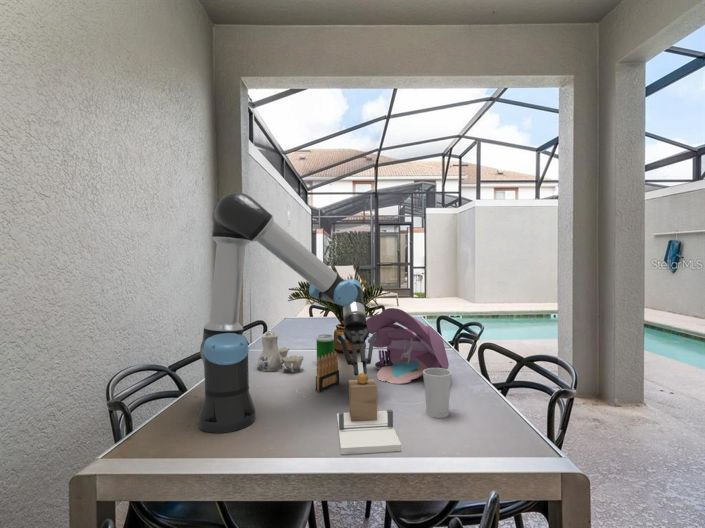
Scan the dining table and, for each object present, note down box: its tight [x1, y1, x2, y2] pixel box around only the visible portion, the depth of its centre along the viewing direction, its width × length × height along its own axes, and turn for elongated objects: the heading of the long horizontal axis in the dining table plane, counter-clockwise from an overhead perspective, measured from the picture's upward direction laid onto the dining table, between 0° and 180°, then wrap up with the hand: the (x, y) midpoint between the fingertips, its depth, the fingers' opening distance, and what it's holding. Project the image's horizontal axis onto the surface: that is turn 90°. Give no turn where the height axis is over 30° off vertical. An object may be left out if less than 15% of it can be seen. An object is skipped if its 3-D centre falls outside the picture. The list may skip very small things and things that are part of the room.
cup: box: [422, 368, 452, 419], centre depth 112 cm, size 8×8×12 cm
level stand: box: [336, 409, 402, 455], centre depth 100 cm, size 20×14×6 cm
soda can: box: [316, 333, 335, 361], centre depth 165 cm, size 8×8×12 cm
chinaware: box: [257, 328, 304, 373], centre depth 161 cm, size 28×17×17 cm, turn 34°
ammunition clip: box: [315, 350, 340, 393], centre depth 135 cm, size 11×2×12 cm, turn 143°
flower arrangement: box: [366, 307, 450, 385], centre depth 147 cm, size 35×24×28 cm
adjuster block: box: [348, 373, 378, 421], centre depth 107 cm, size 6×7×12 cm
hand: (361, 384), depth 116 cm, fingers closed
